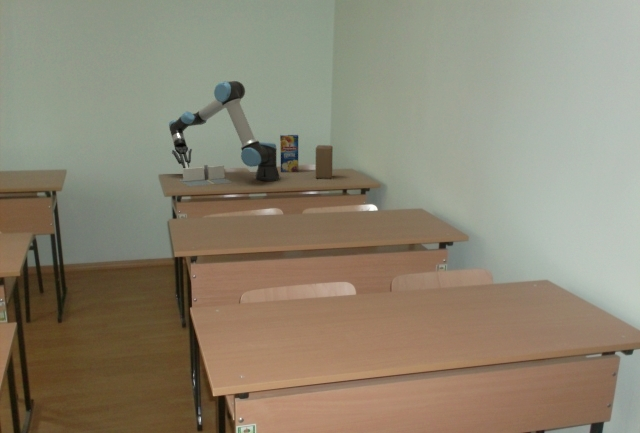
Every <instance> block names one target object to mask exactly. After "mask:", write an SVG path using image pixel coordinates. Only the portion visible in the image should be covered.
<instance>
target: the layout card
mask: <svg viewBox="0 0 640 433" xmlns="http://www.w3.org/2000/svg"><path fill="white" fill-rule="evenodd" d="M179 181H180V182H181V183H182V184H184V185H186V186H188V187H197V186H209V185H220V184H230V183H231V184H232V183H233V181H231V180H228V179H227V178H225V177H224V178H222V179H211V180H209V179H208V180H205V177H204V180H194V181H183V178H182V179H179Z"/></svg>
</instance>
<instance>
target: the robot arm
mask: <svg viewBox="0 0 640 433" xmlns="http://www.w3.org/2000/svg"><path fill="white" fill-rule="evenodd" d="M213 90H214V91H213V94H214V98H215V99H214V100H213V101H211V102H210V103H208V104H207V105H205V106H204V107H203V108H201V109H200V110H198V111H197V112H194V113H192V112H191V111H185V112H183V113H182V114H181V115H180V116H179V117H178V119H174V120H172V121H169V122H168V123H169V124H168V127H169V132H170V135H171V138H172V142H173V145H174V149H172V151H171V154H172V155H173V156H174V157H175V160H176V161H177V164H179V165H181V166H182V169H186V168H190V164H191V161H192V151H193V149H192V148H189V147H188V145H187V142H186V137H185V135H184V131H185V130H186V129H187V128H188V127H194V126H201V125H204V124H206V123H207V121H208V120H210V118H212V117H213V116H215V115H217V114H218V113H219V112H221V111H223V110H224V109H226V110H227V113H228V115H229V118H230V119H231V122H232V124H233V127H234V129H235V131H236V134H237V137H238V139H239V141H240V144H241V148H240V149H241V154H240V159H241V162H242V163H243V164H244V165H246V166H247V167H251V168H252V167H257V170H256V172H255V180H257V181H260V182H274V181H278V180H280V173H279V170H278V167H277V150H278V149H277V145H276V143H274V142H260V141H259V140H257V139H256V137H255V136H254V133H253V131H252V129H251V126H250V123H249V122H248V120H247V117H246V114H245V112H244V110H243V107H242V105H241V101H242V99H243V98H244V97H245V94H246V87H245V86H244V84H243V83H242V82H239V81H235V80H233V81H221V82H218V83H217V84H216V85H215V87H214V89H213ZM187 153H188V155H187Z"/></svg>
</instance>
